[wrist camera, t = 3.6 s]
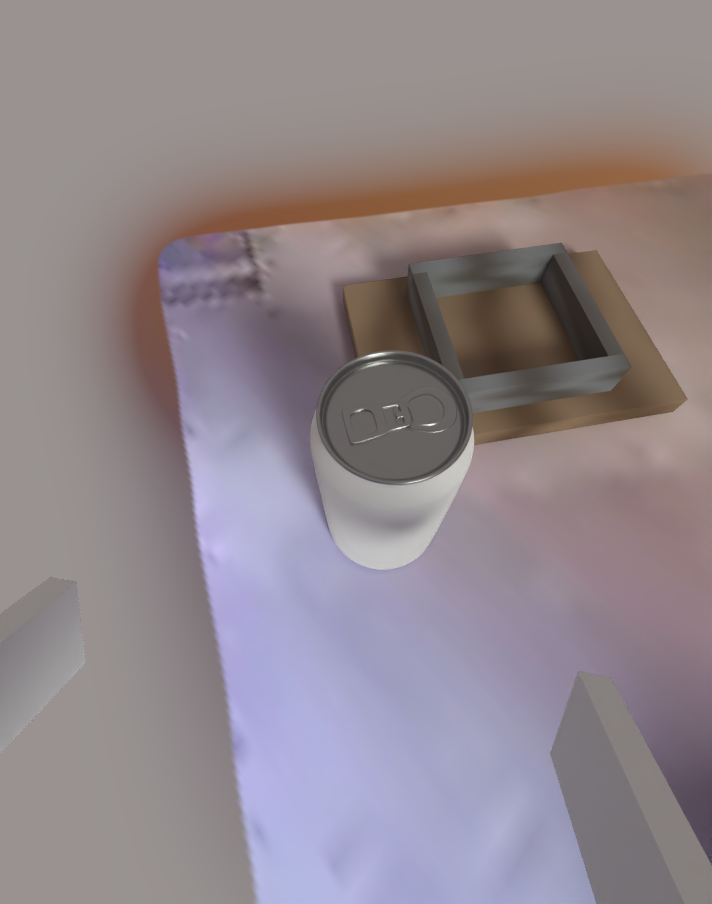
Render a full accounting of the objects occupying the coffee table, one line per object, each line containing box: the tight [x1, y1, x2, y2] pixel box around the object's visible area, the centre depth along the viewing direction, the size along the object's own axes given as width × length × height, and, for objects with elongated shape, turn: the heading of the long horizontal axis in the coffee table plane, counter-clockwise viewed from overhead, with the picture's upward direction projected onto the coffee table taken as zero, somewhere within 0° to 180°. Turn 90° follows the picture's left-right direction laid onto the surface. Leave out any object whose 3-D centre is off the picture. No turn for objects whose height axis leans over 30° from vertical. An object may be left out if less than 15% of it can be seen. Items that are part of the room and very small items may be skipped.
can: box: [310, 350, 474, 570], centre depth 21 cm, size 6×6×12 cm
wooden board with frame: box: [343, 243, 687, 445], centre depth 30 cm, size 20×14×4 cm
